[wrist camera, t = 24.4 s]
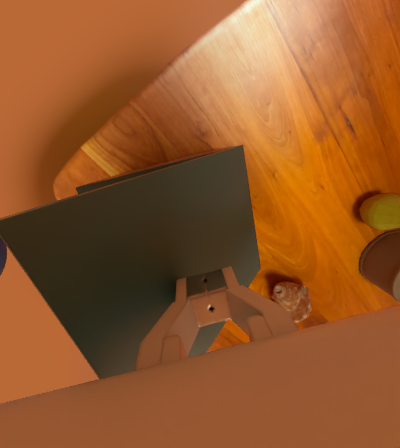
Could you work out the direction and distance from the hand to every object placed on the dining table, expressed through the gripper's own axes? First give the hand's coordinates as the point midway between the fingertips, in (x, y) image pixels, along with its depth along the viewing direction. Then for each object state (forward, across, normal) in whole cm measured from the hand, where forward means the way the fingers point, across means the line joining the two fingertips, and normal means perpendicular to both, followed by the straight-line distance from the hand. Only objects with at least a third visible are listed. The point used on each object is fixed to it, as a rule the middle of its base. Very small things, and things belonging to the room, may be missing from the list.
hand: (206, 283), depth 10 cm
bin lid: (+3, 0, 0) cm, 3 cm away
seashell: (+22, -13, +24) cm, 35 cm away
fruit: (+22, -30, +10) cm, 38 cm away
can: (+22, -35, +22) cm, 47 cm away
